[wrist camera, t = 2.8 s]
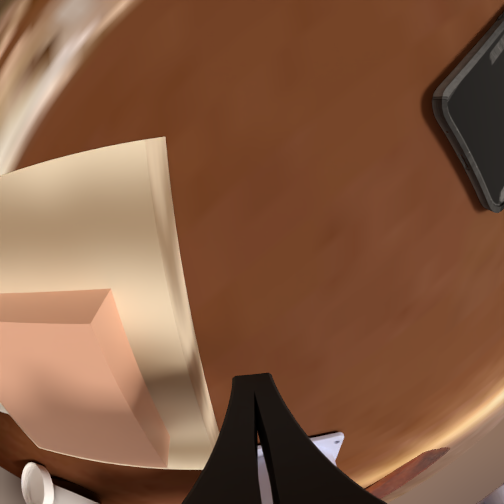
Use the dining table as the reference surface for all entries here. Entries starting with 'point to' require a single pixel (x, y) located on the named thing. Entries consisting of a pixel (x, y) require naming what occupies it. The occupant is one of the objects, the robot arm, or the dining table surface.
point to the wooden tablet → (405, 473)
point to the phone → (477, 115)
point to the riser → (115, 269)
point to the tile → (77, 378)
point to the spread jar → (52, 488)
